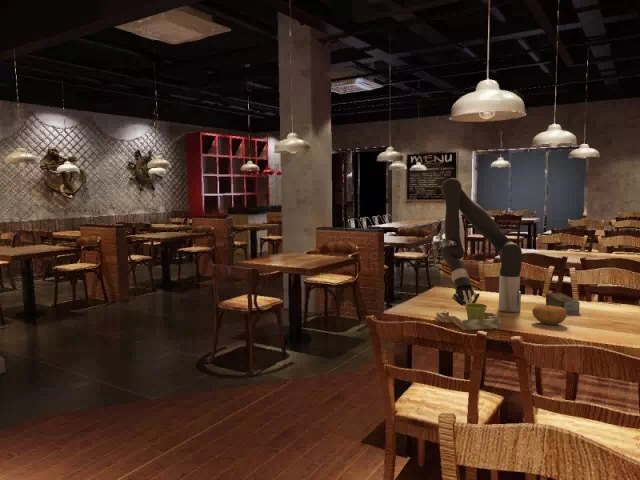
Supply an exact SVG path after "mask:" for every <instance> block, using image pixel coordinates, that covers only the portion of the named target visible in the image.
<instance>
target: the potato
mask: <svg viewBox="0 0 640 480" xmlns="http://www.w3.org/2000/svg"><path fill="white" fill-rule="evenodd" d="M531 311H532V316H533V317H534V319H536V320H537V321H539V322H540V323H541V324H545V325H558V324H561V323H563V322H564V321H565V320H566V318H567V316H568V314H567V312H566V310H565V309H564V308H562V307H555V306H549V305H536V306H534V307H533V308H532V310H531Z"/></svg>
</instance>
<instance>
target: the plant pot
mask: <svg viewBox="0 0 640 480" xmlns="http://www.w3.org/2000/svg"><path fill="white" fill-rule="evenodd" d="M464 307H465V309H466V310H467V311H466V315H467V316H466V317H467V320H474V319H485V318H484V314H485V312H486V310H487V307H488V306H487V304H485V303H479V302H478V303H477V302H476V303H468V304H465V306H464Z"/></svg>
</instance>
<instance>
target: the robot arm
mask: <svg viewBox="0 0 640 480" xmlns="http://www.w3.org/2000/svg"><path fill="white" fill-rule="evenodd" d="M440 191H441V194H442V195H443V196H444V200H445V217H444V218H445V219H444V236H445V237H444V238H445V240H446V241H449V242H454V245H444V246H443V247H442V248H441V256H442V258H443V260H444V261H445V263H446V265H447V266H448V268H449V270H450V274H451V280H452V282H453V283H452V284H453V287H454V290H455V293H454V294H453V295H452V297H451V298H452V299H453V300H454V302H456V303H457V304H458V305H460V306H461V307H465V304H468V303H477V301H478V299H479V298H480V293H478V292H477V293H476V292H475V291H474V289H473V286H472V283H471V280H470V277H469V276H470V275H469V274H468V271H467V268H466V264H465V262H464V261H463V260H462V259H463V257H464V256H465V250H464V246H463V243H462V238H461V234H460V233H461V229H460V226H461V225H460V213H461V214H462V215H463V217H465V219H466V220H467V221H468V222H469V224H471V226H472V227H473V228H474V229H475V230H476V231H477V232H478V233H479V234H481V236H482V237H484V238H485V239H486V240H487V241H488V242H489V243H491V245H492V246H493V248H494V249H495V250H496V251H497V253H498V254H499V256H500V257H501V260H500V261H501V265H500V269H499V285H498V291H499V292H498V310H499V311H501V312H504V313H517V312H521V304H522V303H521V302H522V301H521V300H522V291H520V285H521V283H520V281H521V271H522V263H523V262H522V261H523V251H522V248H521V247H520V246H519V244H517V243H515V242H513V241H512V240H510V238H508V236H506V235H505V234H504V233H503V232H502V231H501V229H500V228H499V226H498V225H497V223H496V222H495V220H494V219H493V218H492V217H491V215H490V214H489V213H488V212H487V211H486V210H485V209H484V208H483V207H482V206H481V205H479V204H478V203H477V202H475V201H474V200H473V199H471V197H469V195H467V194H466V192H465V191H464V190H463V188H462V184H461V181H459V180H458V179H457V178H455V177H451V178H447V179H445V180H444V181H442V183H441V185H440ZM472 298H474V299H472ZM466 312H467V310H466Z"/></svg>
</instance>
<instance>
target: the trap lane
mask: <svg viewBox="0 0 640 480" xmlns="http://www.w3.org/2000/svg"><path fill="white" fill-rule="evenodd" d="M435 314H436V319H438V320H439V321H440V320H441V321H440V322H442V323H453V324H455V325H456V326H457V327H459V328H460V329H461V330H463V331H469V330H491V329H492V330H493V328H496V329H501V316H500V315H498V314H497V313H495V312H493V311H485V314H484V319H474V320H468V319H463V320H461V319H460V318H458V317H457V316H455V315H450V312H449V311H448V310H444V311H436V313H435Z"/></svg>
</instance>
